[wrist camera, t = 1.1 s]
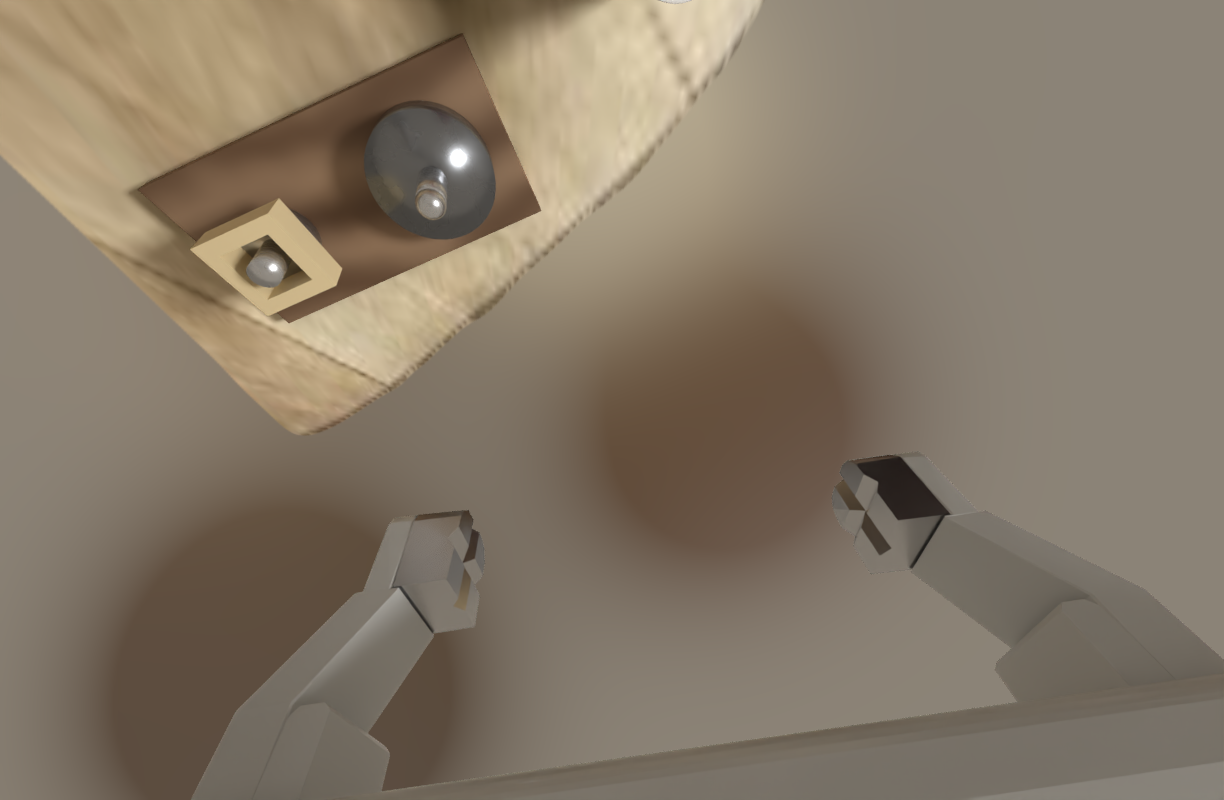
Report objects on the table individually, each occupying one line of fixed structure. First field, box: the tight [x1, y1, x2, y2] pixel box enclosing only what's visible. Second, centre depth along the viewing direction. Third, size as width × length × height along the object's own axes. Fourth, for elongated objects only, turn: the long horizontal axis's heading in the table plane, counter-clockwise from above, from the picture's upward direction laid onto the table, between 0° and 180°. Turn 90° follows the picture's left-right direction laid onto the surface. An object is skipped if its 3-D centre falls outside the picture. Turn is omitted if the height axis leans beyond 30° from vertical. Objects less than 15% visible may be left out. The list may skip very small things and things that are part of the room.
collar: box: [190, 198, 342, 316], centre depth 36 cm, size 7×7×3 cm
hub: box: [364, 100, 496, 240], centre depth 35 cm, size 10×10×9 cm
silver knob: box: [241, 208, 322, 288], centre depth 36 cm, size 5×5×7 cm
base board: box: [138, 33, 541, 323], centre depth 39 cm, size 14×28×2 cm, turn 108°
